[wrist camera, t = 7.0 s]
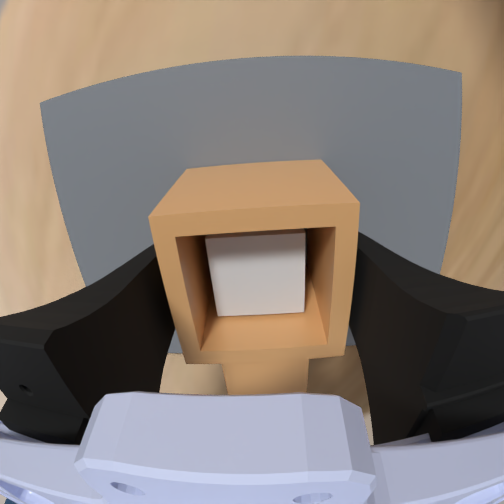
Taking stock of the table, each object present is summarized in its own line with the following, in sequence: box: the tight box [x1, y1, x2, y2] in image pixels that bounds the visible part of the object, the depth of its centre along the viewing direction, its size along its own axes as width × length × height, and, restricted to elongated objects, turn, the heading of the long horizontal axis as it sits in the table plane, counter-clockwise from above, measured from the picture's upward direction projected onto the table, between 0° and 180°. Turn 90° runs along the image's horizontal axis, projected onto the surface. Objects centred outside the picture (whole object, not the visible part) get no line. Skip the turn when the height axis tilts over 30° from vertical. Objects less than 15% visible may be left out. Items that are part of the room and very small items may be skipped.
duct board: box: [40, 56, 462, 353], centre depth 12 cm, size 18×14×4 cm
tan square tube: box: [148, 160, 360, 395], centre depth 12 cm, size 9×5×5 cm, turn 4°
